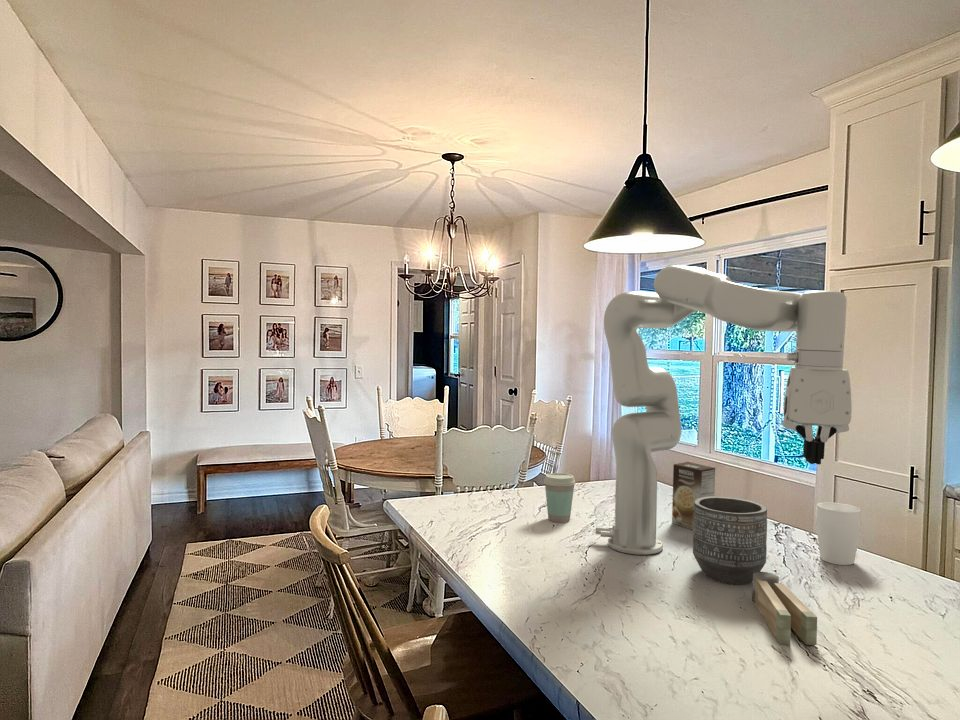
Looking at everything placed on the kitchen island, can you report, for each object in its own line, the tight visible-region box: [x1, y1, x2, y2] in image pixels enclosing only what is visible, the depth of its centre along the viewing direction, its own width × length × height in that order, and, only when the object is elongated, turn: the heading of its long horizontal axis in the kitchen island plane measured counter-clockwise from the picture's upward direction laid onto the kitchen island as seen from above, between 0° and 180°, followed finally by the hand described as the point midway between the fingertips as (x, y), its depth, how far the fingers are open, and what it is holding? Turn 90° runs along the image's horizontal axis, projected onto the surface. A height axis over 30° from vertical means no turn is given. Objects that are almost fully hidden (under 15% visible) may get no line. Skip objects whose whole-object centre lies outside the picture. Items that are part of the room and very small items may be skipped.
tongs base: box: [751, 571, 792, 646], centre depth 110 cm, size 4×19×5 cm, turn 170°
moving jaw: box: [774, 583, 818, 646], centre depth 108 cm, size 2×14×4 cm, turn 175°
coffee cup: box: [543, 472, 576, 524], centre depth 171 cm, size 8×8×12 cm
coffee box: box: [671, 461, 716, 530], centre depth 167 cm, size 9×6×16 cm
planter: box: [692, 495, 768, 585], centre depth 131 cm, size 14×14×15 cm
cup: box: [814, 501, 863, 566], centre depth 141 cm, size 9×9×12 cm
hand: (813, 462), depth 113 cm, fingers closed
